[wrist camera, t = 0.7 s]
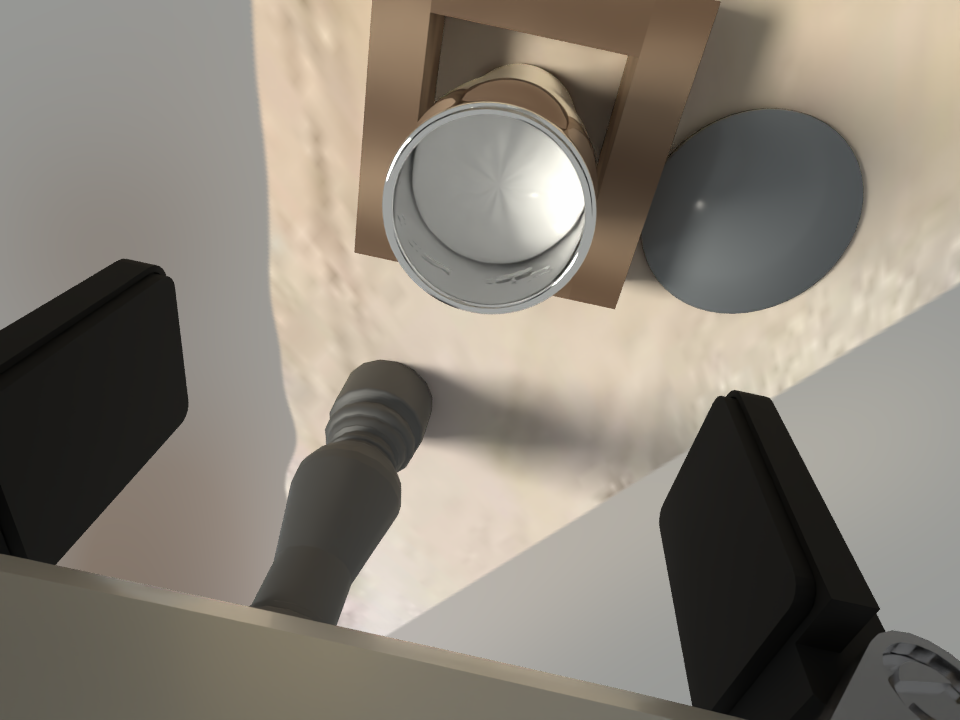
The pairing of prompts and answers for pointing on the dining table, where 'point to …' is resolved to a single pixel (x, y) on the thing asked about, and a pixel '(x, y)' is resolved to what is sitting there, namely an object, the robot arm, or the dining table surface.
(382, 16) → the frame
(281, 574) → the candle holder
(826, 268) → the coaster
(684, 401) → the dining table surface
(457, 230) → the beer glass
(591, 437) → the dining table surface
